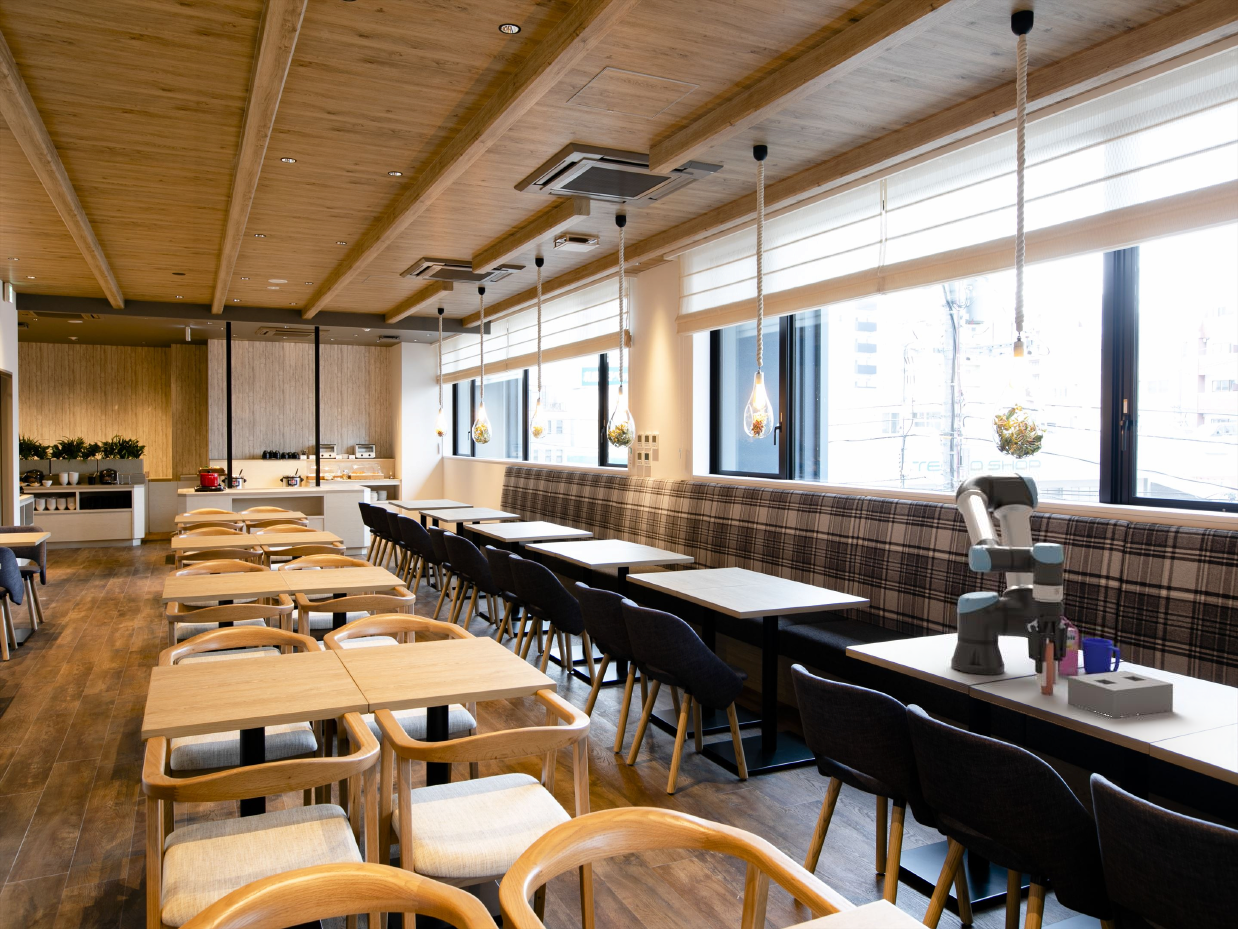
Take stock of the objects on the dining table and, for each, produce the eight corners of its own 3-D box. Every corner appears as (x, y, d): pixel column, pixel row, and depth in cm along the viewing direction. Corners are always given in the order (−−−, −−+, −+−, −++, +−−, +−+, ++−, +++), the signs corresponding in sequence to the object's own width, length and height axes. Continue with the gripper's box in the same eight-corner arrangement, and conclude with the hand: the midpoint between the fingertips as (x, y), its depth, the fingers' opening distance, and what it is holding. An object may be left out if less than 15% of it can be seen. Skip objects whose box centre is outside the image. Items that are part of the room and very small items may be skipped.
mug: (1107, 681, 250) (1107, 647, 250) (1075, 671, 262) (1075, 638, 261) (1130, 679, 252) (1130, 645, 252) (1097, 669, 264) (1097, 637, 264)
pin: (1038, 692, 238) (1038, 642, 238) (1047, 691, 239) (1047, 641, 239) (1047, 695, 236) (1047, 644, 235) (1055, 694, 237) (1056, 643, 236)
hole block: (1113, 718, 215) (1113, 690, 215) (1067, 703, 228) (1068, 676, 228) (1172, 710, 221) (1172, 683, 221) (1125, 696, 235) (1125, 670, 235)
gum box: (1036, 655, 283) (1037, 614, 283) (1063, 657, 280) (1063, 615, 280) (1049, 673, 260) (1050, 628, 260) (1079, 675, 258) (1079, 630, 257)
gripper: (1034, 603, 231) (1034, 690, 231) (1082, 600, 236) (1081, 685, 236) (1013, 599, 238) (1013, 683, 238) (1060, 595, 243) (1059, 678, 244)
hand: (1047, 684), depth 237 cm, fingers open, 3 cm apart
